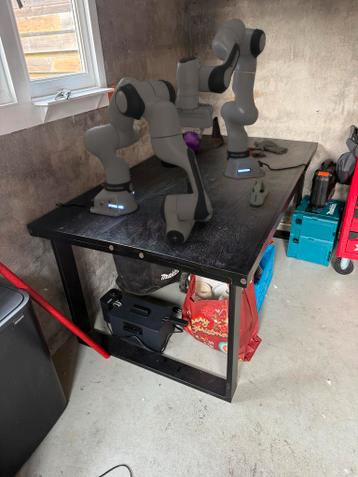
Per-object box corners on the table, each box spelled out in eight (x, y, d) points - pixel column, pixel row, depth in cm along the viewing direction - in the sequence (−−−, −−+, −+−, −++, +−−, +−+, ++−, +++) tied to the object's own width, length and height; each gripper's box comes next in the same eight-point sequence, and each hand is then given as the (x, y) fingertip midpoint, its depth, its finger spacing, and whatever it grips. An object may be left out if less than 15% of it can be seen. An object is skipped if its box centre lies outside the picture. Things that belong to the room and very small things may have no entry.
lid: (197, 177, 145) (197, 173, 144) (200, 181, 140) (200, 177, 139) (185, 179, 144) (184, 174, 143) (187, 183, 139) (187, 178, 138)
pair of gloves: (252, 159, 212) (252, 151, 209) (231, 150, 233) (231, 143, 230) (289, 152, 222) (290, 144, 219) (266, 144, 242) (267, 137, 240)
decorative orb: (204, 151, 235) (204, 129, 228) (194, 156, 225) (193, 134, 217) (186, 149, 243) (186, 128, 235) (175, 154, 232) (174, 132, 224)
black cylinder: (197, 209, 152) (196, 174, 143) (200, 214, 148) (199, 178, 139) (187, 210, 151) (185, 175, 143) (189, 215, 147) (188, 179, 139)
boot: (224, 140, 260) (225, 113, 250) (221, 148, 240) (222, 119, 230) (213, 140, 262) (213, 113, 252) (210, 148, 242) (209, 119, 232)
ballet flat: (269, 188, 169) (270, 173, 165) (265, 208, 149) (266, 191, 145) (252, 187, 171) (253, 172, 167) (246, 206, 151) (247, 190, 147)
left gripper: (210, 213, 129) (215, 199, 141) (160, 210, 134) (169, 196, 146) (210, 227, 133) (215, 212, 144) (161, 223, 137) (170, 209, 149)
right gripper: (215, 102, 131) (214, 137, 138) (168, 101, 138) (170, 135, 145) (210, 104, 126) (210, 141, 133) (162, 103, 133) (164, 138, 140)
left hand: (191, 204), depth 145 cm, fingers open, 8 cm apart
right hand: (188, 137), depth 139 cm, fingers open, 8 cm apart
